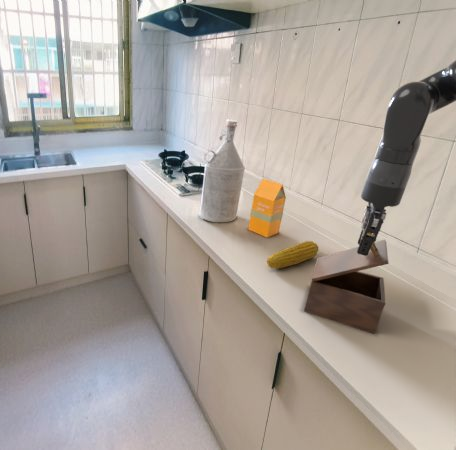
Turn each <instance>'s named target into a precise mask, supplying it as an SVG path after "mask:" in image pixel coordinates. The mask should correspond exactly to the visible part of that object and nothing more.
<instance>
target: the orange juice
mask: <svg viewBox="0 0 456 450" xmlns="http://www.w3.org/2000/svg"><path fill="white" fill-rule="evenodd" d="M286 199H287V197H286V193H285V189H284V184H283V183H280V182H276V181H272V180H269V179H265V178H262V179H261V181H260V182H259V184H258V186H257V188H256V190H255V192H254V194H253V199H252V205H251V209H250V217H249V223H248V230H249V231H251V232H253V233H256V234H258V235H260V236H263V237H265V238H269V237H272V236H274V235H277V234H279V233H280V228H281V223H282V218H283V215H284V209H285V208H284V207H285V203H286Z"/></svg>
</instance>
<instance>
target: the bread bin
mask: <svg viewBox="0 0 456 450" xmlns="http://www.w3.org/2000/svg"><path fill="white" fill-rule="evenodd" d="M384 279H385V278H384V277H382V276H378V275H374V274H371V273H367V272H363V271H356V272H352V273H347V274H343V275H339V276H335V277H330V278H326V279H322V280H318V281H312V280H311V282H310V287H309V289H308V294H307V297H306V301H305V305H304V309H303V312H305V313H306V312H307V313H309V314H312V315H316V316H318V317H322V318H324V319H328V320H331V321H334V322H337V323H340V324H343V325H346V326H349V327H352V328H355V329H359V330H361V331H365V332H368V333H371V334H375V332H376V330H377V327H378V324H379V321H380V320H381V316H382V314H383V311H384V309H385V306H386V294H385V293H386V291H385V280H384ZM343 289H344V290H343ZM347 290H348V291H347ZM350 291H351V292H350ZM354 292H355V293H354ZM357 293H359V294H357ZM361 294H362V295H361Z"/></svg>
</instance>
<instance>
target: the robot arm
mask: <svg viewBox="0 0 456 450" xmlns="http://www.w3.org/2000/svg"><path fill="white" fill-rule="evenodd" d="M455 102H456V59H455V60H454V61H452V62H451V63H450V64H449V65H448V66H446V67H445V68H442V69H441V70H439V71H436V72H435V73H433V74H430V75H429V76H427V77H425V78H422V79H420V80H418V81H411V82H410V81H409V82H406V83H404V84H403V85H401V86H400V87H399V88H398V89H396V90H395V91H394V93H393V94H392V96H391V97H390V100H389V103H388V105H387V109H386V113H385V118H384V123H383V129H382V136H381V138H380V141H379V143H378V146H377V149H376V152H375V155H374V158H373V160H372V163H371V165H370V167H369V169H368V172H367V175H366V179H365V181H364V185H363V188H362V191H361V194H360V198H361V199H362V200H363V201H365V202H366V203H368V204H367V205H366V206H365V208H364V214H363V216H362V222H361V223H362V225H361V232H360V234H359V237H358V240H357V245H358V246H357V247H358V250H357V253H358V254H361V255H364V256H367V255H368V253H369V250H370V248H371V245H372V242H377V237H378V236H379V232H380V231H381V228H382V225H383V224H384V221H385V220H386V218H387V214H388V213H387V209H385V208H387V207H390V208H392V207H393V208H394V207H397V206H399V205H400V204H401V202H402V199H403V196H404V194H405V190H406V188H407V185H408V183H409V180H410V177H411V174H412V171H413V170H412V169H413V166H414V162H415V160H416V157H417V155H418V152H419V150H420V147H421V144H422V143H421V141H422V138H421V136H422V132H423V130H424V127H425V125H426V123H427V119H428V117H429V115H431V114H433V113H435V112H437V111H439V110H441V109H443V108H445V107H447V106H449V105H451V104H453V103H455ZM367 233H372V234H373V236H369V235H367Z"/></svg>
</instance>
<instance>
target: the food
mask: <svg viewBox="0 0 456 450" xmlns="http://www.w3.org/2000/svg"><path fill="white" fill-rule="evenodd" d="M318 252H319V245H318V244H317V243H316V242H314V241H311V240H308V241H303V242H300V243H298V244H295V245H292V246H289V247H287V248H284V249H281V250H279V251H276V252H274V253H273V254H271V255H270V256H269V257H268V258H267V260H266V263H267V266H268V267H270V268H272V269H281V268H286V267H289V266H293V265H297V264H300V263H302V262H305V261H308V260H309V259H312V258H314V257H315V256H317V254H318Z"/></svg>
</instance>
